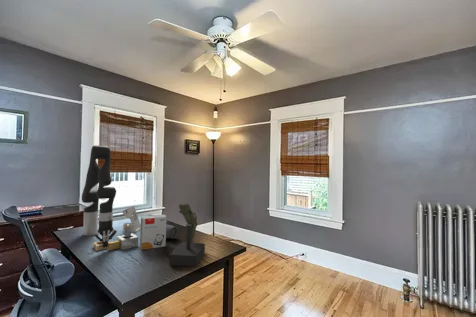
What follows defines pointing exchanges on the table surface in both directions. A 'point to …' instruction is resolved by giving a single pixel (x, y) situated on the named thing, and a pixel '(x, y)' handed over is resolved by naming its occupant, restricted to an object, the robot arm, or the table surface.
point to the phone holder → (132, 219)
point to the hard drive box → (153, 231)
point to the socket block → (128, 241)
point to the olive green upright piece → (189, 219)
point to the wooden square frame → (99, 246)
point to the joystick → (187, 252)
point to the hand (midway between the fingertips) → (105, 247)
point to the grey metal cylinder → (127, 231)
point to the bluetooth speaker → (171, 231)
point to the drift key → (114, 245)
